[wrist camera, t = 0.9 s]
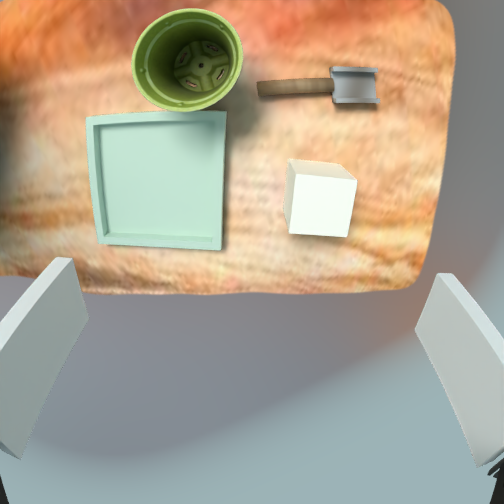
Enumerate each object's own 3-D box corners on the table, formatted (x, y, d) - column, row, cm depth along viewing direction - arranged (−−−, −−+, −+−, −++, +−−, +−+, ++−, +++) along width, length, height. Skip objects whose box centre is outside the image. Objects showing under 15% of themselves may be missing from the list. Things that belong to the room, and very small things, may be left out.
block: (282, 207, 37) (288, 233, 31) (287, 158, 34) (295, 174, 28) (331, 211, 37) (346, 237, 31) (339, 163, 34) (357, 180, 28)
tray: (104, 236, 39) (98, 243, 37) (93, 115, 31) (85, 117, 29) (222, 242, 39) (220, 250, 37) (226, 110, 31) (225, 111, 30)
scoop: (259, 106, 31) (259, 107, 30) (255, 71, 29) (255, 70, 28) (374, 102, 31) (380, 103, 29) (371, 68, 29) (377, 68, 27)
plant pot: (220, 121, 32) (210, 130, 24) (145, 88, 30) (114, 89, 22) (261, 48, 28) (264, 33, 20) (183, 16, 26) (162, -5, 18)
